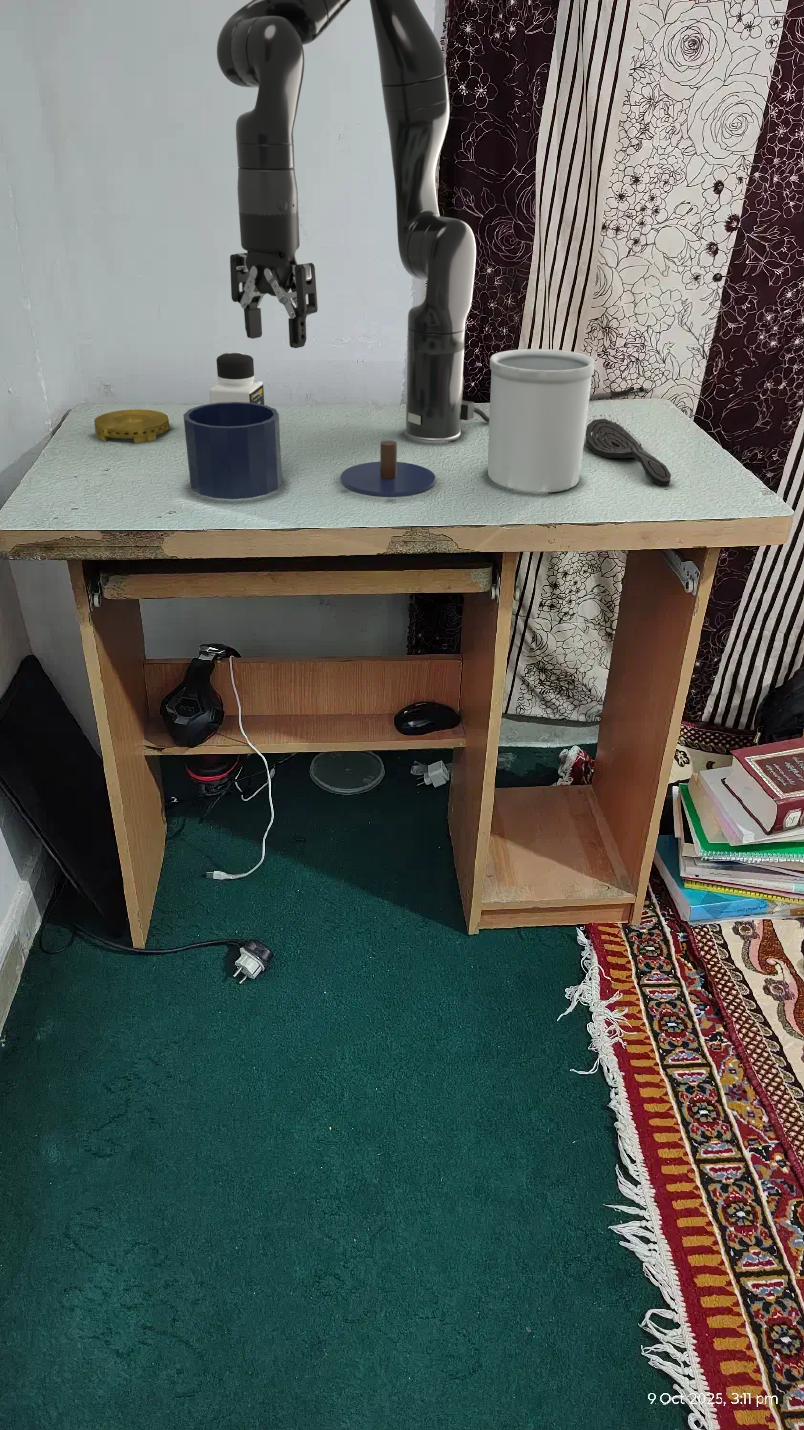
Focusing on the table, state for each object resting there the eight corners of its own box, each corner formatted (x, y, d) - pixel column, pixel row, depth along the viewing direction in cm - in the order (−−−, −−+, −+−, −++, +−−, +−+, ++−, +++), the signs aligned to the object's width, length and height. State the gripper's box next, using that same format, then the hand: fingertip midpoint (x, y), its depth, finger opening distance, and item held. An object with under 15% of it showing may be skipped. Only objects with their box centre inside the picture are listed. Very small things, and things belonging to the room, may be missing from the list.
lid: (372, 463, 154) (372, 423, 150) (451, 479, 148) (453, 438, 145) (322, 489, 143) (321, 447, 140) (406, 507, 138) (406, 464, 134)
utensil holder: (466, 469, 152) (472, 351, 143) (549, 459, 157) (560, 344, 148) (512, 500, 141) (522, 374, 131) (600, 488, 146) (616, 366, 137)
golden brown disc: (180, 425, 169) (178, 412, 168) (153, 445, 159) (151, 432, 158) (114, 420, 171) (112, 407, 170) (83, 440, 161) (81, 427, 160)
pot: (228, 467, 151) (223, 397, 145) (298, 482, 146) (296, 410, 140) (172, 491, 141) (164, 418, 136) (244, 509, 136) (239, 433, 130)
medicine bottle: (252, 435, 165) (248, 361, 159) (212, 431, 166) (206, 358, 160) (265, 423, 171) (262, 351, 165) (226, 420, 172) (221, 348, 166)
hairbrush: (643, 470, 145) (577, 414, 164) (639, 493, 147) (574, 436, 166) (694, 466, 146) (623, 412, 166) (689, 490, 149) (619, 434, 168)
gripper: (329, 211, 123) (332, 346, 132) (253, 202, 131) (261, 330, 140) (285, 215, 119) (291, 355, 127) (209, 206, 126) (220, 338, 135)
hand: (275, 342), depth 134 cm, fingers open, 8 cm apart
